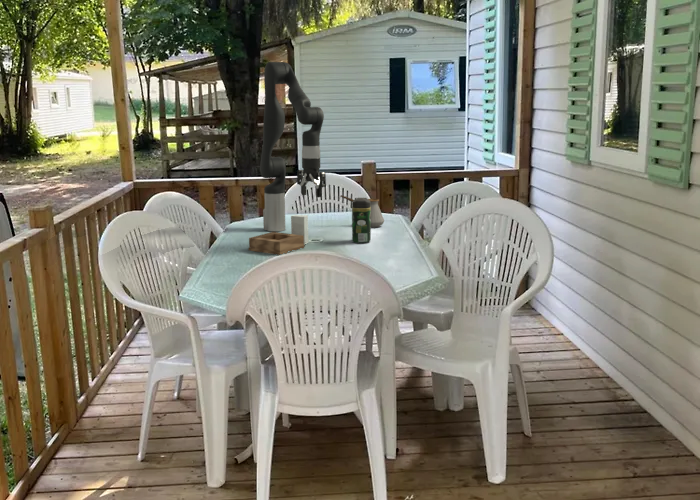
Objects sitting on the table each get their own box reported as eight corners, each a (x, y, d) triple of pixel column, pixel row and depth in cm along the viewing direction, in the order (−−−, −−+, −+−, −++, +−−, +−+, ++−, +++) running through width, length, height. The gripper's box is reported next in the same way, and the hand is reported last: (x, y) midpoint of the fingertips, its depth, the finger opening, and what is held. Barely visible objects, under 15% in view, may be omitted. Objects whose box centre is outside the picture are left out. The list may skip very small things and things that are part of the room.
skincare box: (308, 243, 287) (308, 215, 284) (304, 245, 283) (304, 216, 280) (295, 242, 289) (294, 214, 286) (291, 244, 285) (290, 216, 282)
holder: (248, 250, 274) (248, 238, 273) (273, 243, 287) (273, 231, 286) (280, 255, 265) (279, 242, 264) (304, 247, 279) (304, 235, 278)
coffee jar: (352, 239, 296) (352, 196, 292) (371, 239, 295) (371, 196, 291) (351, 243, 286) (351, 199, 282) (370, 244, 286) (370, 199, 282)
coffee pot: (383, 224, 331) (383, 193, 327) (385, 228, 320) (385, 196, 316) (339, 224, 330) (339, 193, 327) (339, 228, 319) (339, 196, 316)
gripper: (292, 156, 282) (292, 195, 285) (317, 158, 273) (317, 198, 276) (304, 155, 287) (305, 193, 291) (330, 157, 278) (330, 196, 282)
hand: (311, 196), depth 283 cm, fingers open, 8 cm apart
